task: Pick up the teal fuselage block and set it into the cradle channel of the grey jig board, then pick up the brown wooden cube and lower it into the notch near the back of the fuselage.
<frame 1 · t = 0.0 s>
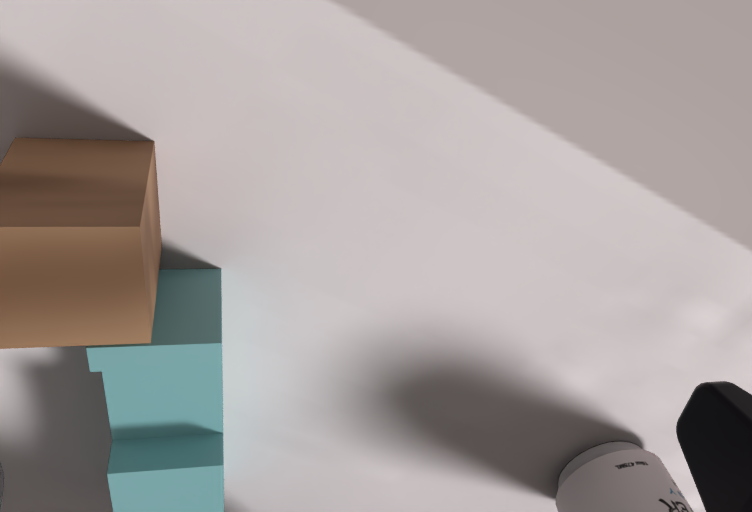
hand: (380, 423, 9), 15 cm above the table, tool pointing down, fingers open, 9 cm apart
brown wooden cube: (93, 195, 22), on the table
fuselage: (172, 388, 28), on the table
energy drink can: (599, 468, 37), on the table
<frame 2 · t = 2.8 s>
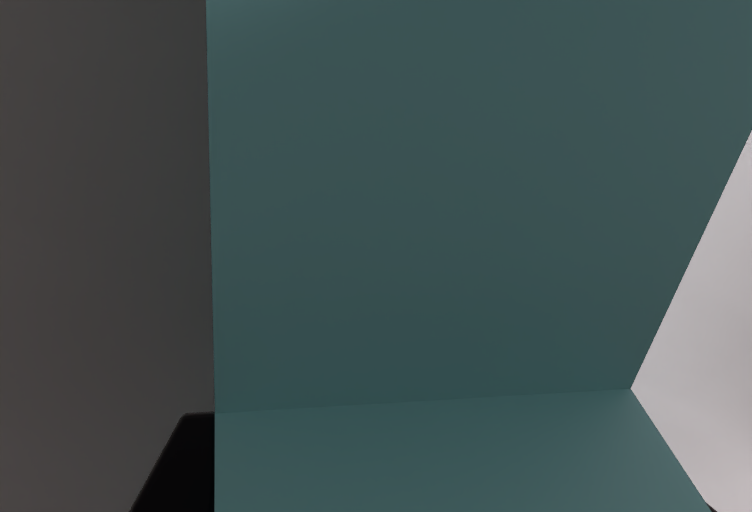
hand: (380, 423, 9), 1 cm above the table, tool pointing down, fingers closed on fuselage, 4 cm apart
fuselage: (384, 246, 8), on the table, touching gripper
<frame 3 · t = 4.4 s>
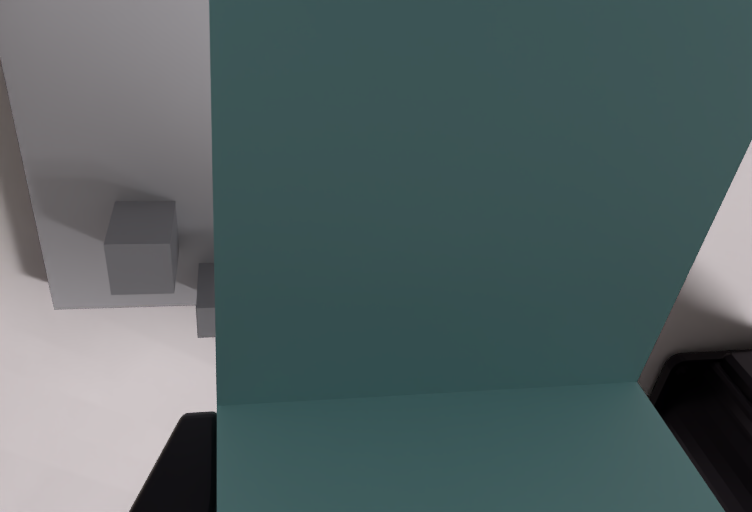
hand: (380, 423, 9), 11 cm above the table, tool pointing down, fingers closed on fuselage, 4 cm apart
jig: (272, 20, 17), on the table
fuselage: (387, 239, 8), point 10 cm above the table, touching gripper
when the fingers open (3 cm above the table, at t = 6.2 s): fuselage drops 1 cm, resting on jig.
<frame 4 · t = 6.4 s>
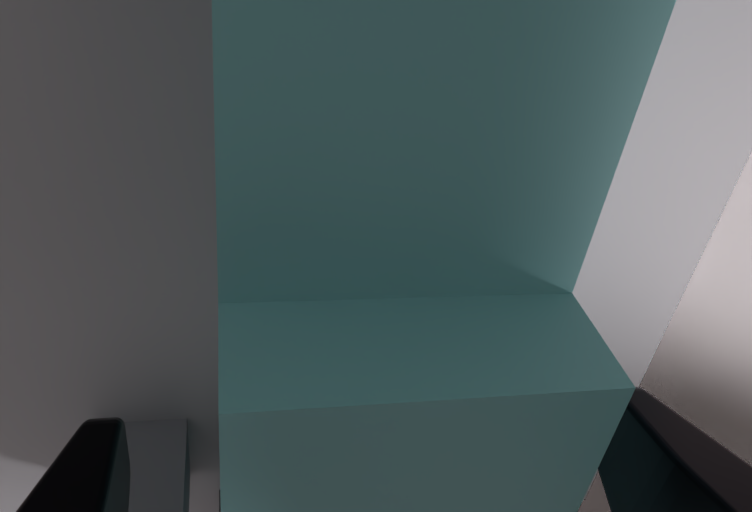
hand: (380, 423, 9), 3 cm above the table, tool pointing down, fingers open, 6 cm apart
jig: (350, 153, 10), on the table
fuselage: (365, 184, 9), point 1 cm above the table, touching jig
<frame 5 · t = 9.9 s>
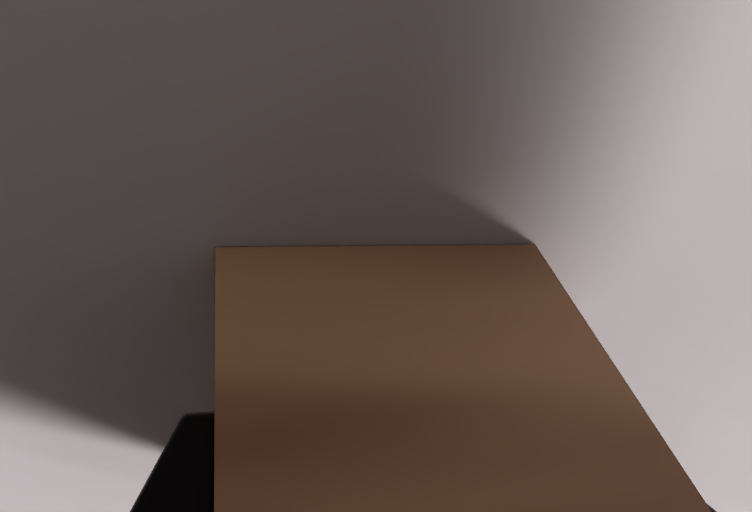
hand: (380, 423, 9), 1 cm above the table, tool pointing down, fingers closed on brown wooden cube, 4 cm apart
brown wooden cube: (365, 364, 9), on the table, touching gripper
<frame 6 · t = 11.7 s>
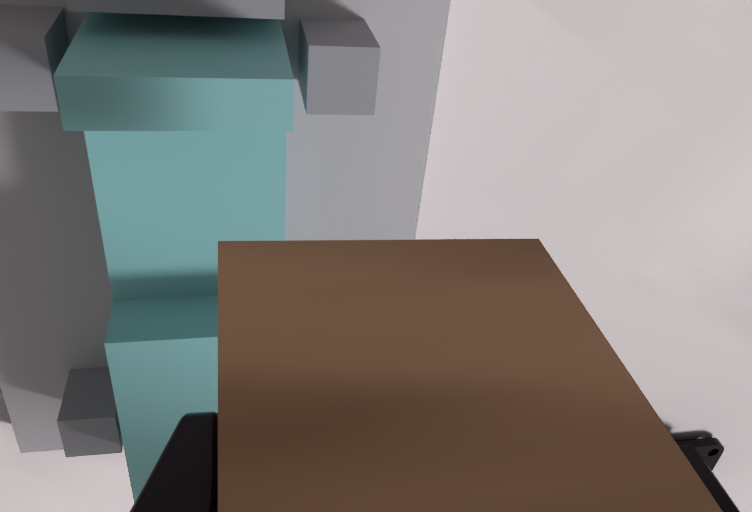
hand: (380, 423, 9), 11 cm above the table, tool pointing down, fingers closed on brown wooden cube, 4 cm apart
jig: (201, 219, 19), on the table
brown wooden cube: (368, 359, 9), point 10 cm above the table, touching gripper
fuselage: (202, 238, 18), point 1 cm above the table, touching jig
when the fingers open (5 cm above the table, at t = 13.7 s): brown wooden cube stays where it is, resting on fuselage.
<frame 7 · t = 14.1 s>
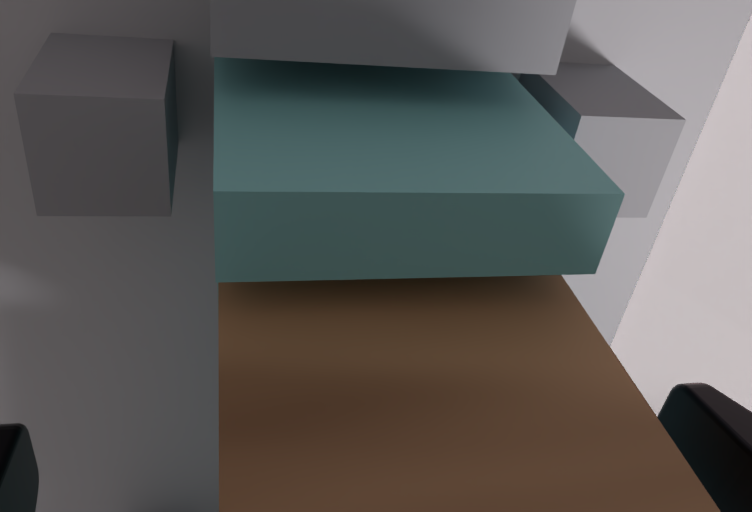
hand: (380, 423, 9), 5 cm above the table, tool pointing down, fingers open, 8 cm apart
jig: (319, 326, 14), on the table
brown wooden cube: (365, 353, 9), point 3 cm above the table, touching fuselage
fuselage: (328, 360, 13), point 1 cm above the table, touching jig, brown wooden cube
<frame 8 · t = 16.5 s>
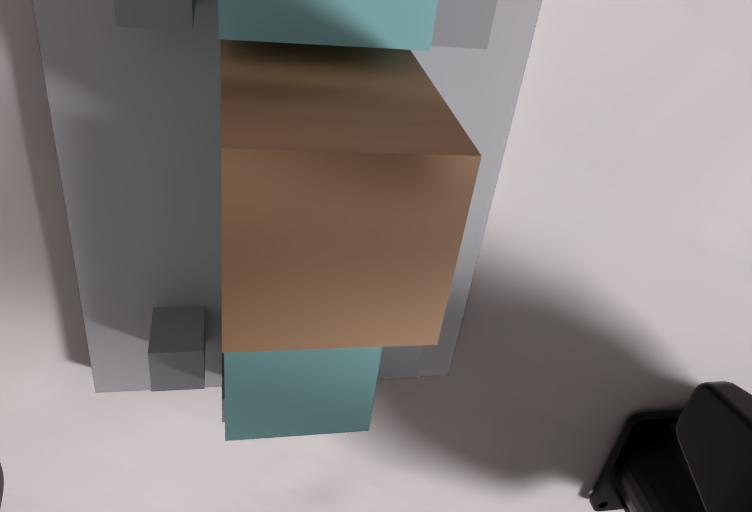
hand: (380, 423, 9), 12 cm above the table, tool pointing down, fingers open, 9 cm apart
jig: (290, 160, 20), on the table
brown wooden cube: (311, 131, 15), point 3 cm above the table, touching fuselage
fuselage: (295, 177, 19), point 1 cm above the table, touching jig, brown wooden cube
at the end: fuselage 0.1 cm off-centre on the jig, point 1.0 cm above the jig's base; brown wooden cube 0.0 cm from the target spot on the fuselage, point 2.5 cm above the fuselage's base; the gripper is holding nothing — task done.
